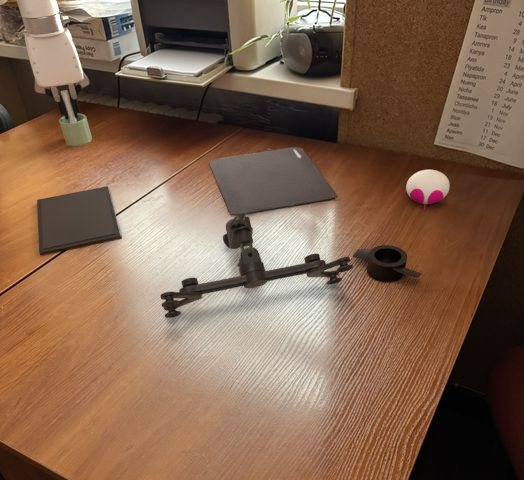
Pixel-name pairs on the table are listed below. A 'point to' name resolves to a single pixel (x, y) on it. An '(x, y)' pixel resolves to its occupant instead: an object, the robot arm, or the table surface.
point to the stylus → (68, 106)
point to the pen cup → (76, 131)
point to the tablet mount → (249, 269)
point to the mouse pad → (269, 180)
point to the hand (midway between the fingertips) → (71, 116)
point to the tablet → (76, 220)
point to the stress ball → (427, 186)
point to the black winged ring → (385, 263)
